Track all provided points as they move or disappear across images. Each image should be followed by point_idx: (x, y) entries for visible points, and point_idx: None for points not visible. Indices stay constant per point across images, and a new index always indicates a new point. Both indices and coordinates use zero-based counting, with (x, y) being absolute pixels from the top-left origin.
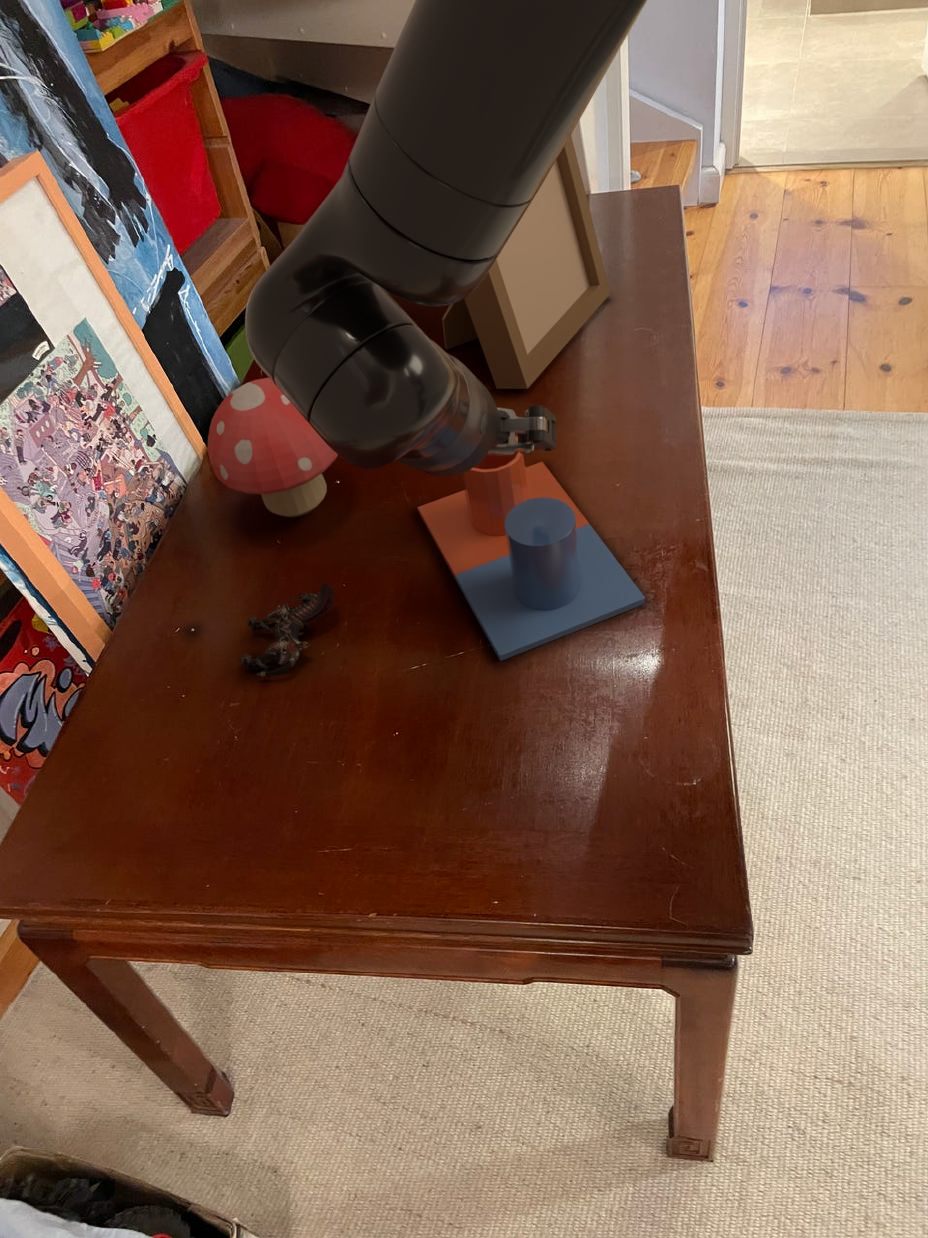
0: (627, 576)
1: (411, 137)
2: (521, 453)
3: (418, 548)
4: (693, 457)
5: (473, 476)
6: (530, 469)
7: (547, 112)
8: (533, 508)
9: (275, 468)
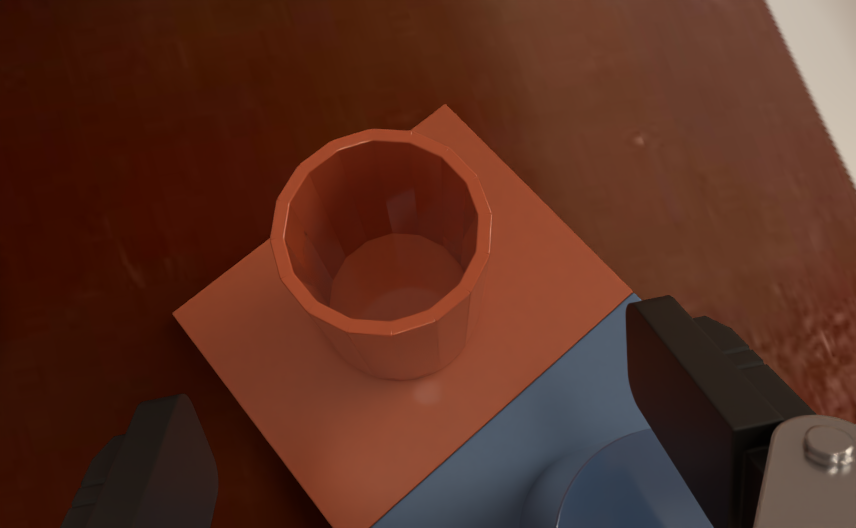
0: None
1: None
2: (672, 460)
3: (214, 445)
4: (775, 30)
5: (353, 338)
6: (425, 134)
7: None
8: (636, 497)
9: None
